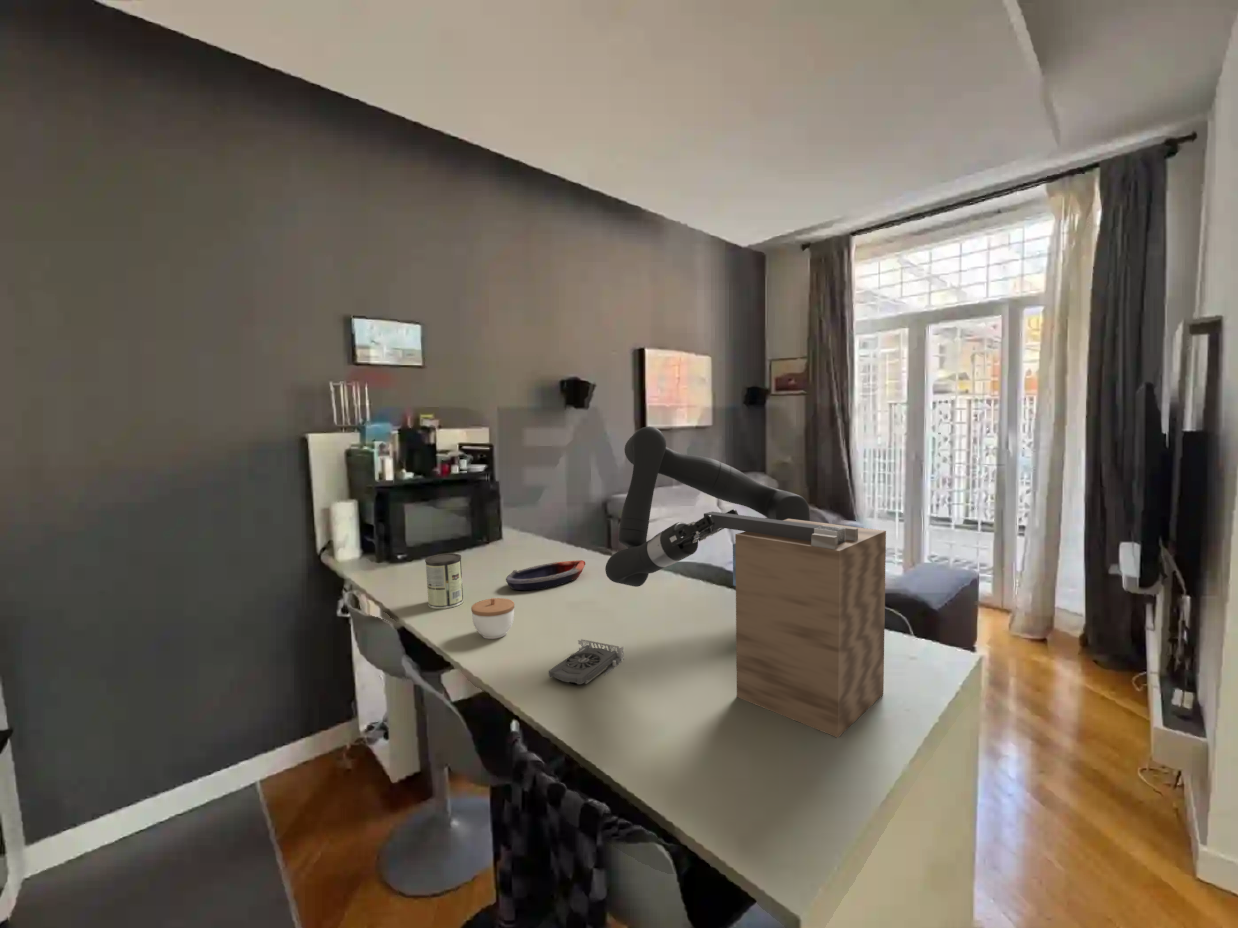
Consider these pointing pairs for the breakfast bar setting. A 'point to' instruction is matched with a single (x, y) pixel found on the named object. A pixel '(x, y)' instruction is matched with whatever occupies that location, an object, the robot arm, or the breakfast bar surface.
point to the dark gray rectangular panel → (774, 526)
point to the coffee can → (444, 581)
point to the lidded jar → (493, 617)
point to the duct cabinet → (811, 624)
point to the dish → (545, 575)
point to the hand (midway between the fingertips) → (724, 516)
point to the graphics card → (587, 663)
